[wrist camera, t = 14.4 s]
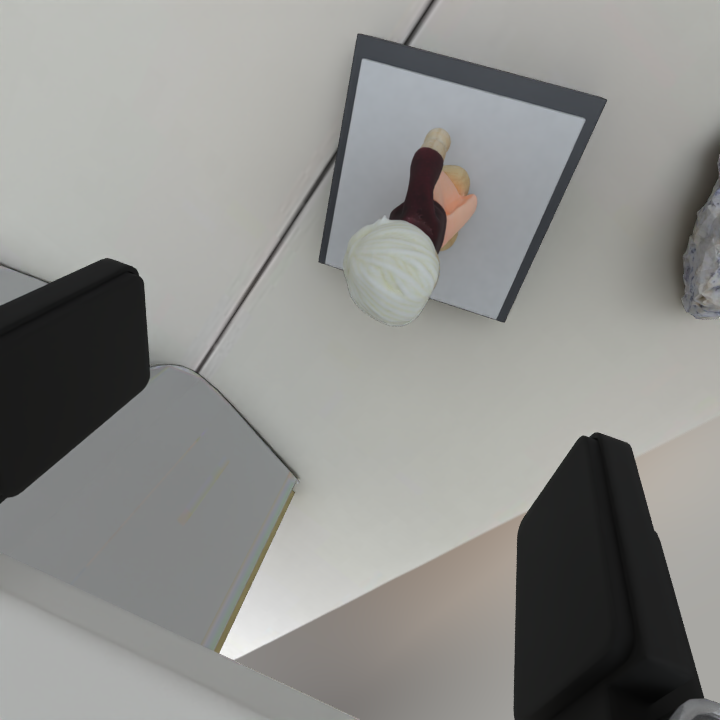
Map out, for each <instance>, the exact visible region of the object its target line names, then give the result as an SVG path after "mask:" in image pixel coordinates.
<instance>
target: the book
mask: <svg viewBox="0 0 720 720" xmlns="http://www.w3.org/2000/svg"><path fill="white" fill-rule="evenodd" d="M47 284H49V283H47V282H45V281H42V280H39V279H37V278H34V277H31V276H28V275H26V274H23V273H20V272H18V271H15V270H12V269H10V268H7V267H4V266H2V265H0V305H3V304H5V303H7V302H9V301H11V300H14V299H16V298H18V297H20V296H22V295H25V294H27V293H29V292H31V291H33V290H36V289H38V288H40V287H42V286H44V285H47ZM296 483H299V480H298V479H297V478H296V477H295V476H294V475H293V473H292V472H291V471H290V470H289V469H288V468H287V467H286V466H285V465H284V464H283V463H282V461H281V460H280V459H279V458H278V457H277V456H276V455H275V454H274V453H273V451H272V450H271V449H270V448H269V447H268V446H267V445H266V444H265V442H264V441H263V440H262V439H261V438H260V437H259V436H258V434H257V433H256V432H255V431H254V430H253V429H252V428H251V427H250V425H249V424H248V423H247V422H246V421H245V420H244V419H243V417H242V416H241V415H240V414H239V413H238V412H237V411H236V410H235V408H234V407H233V406H232V405H231V404H230V403H229V402H228V401H227V400H226V399H225V398H224V397H223V395H222V394H221V393H220V392H219V391H218V390H217V389H216V388H215V387H213V386H212V385H211V384H210V383H209V382H207V381H206V380H205V379H204V378H203V377H201V376H200V375H199V374H197V373H196V372H194V371H192V370H190V369H188V368H185V367H182V366H177V365H159V366H155V367H151V368H150V379H149V382H148V384H147V386H146V387H145V389H144V390H143V391H141V392H140V393H139V394H138V395H137V396H136V397H134V398H133V399H132V400H131V401H130V402H128V403H127V404H126V405H125V406H124V407H122V408H121V409H120V410H119V411H118V412H117V413H115V414H114V415H113V416H112V417H111V418H109V419H108V420H107V421H106V422H105V423H103V424H102V425H101V426H100V427H99V428H98V429H96V430H95V431H94V432H93V433H92V434H90V435H89V436H88V437H87V438H86V439H85V440H83V441H82V442H81V443H80V444H79V445H77V446H76V447H75V448H74V449H73V450H71V451H70V452H69V453H68V454H67V455H66V456H64V457H63V458H62V459H61V460H60V461H58V462H57V463H56V464H55V465H54V466H52V467H51V468H50V469H49V470H48V471H47V472H45V473H44V474H43V475H42V476H41V477H39V478H38V479H37V480H36V481H35V482H33V483H32V484H31V485H30V486H29V487H28V488H26V489H25V490H24V491H23V492H21V493H20V494H19V495H17V496H15V497H10V498H7V499H5V500H4V501H3V502H2V503H1V504H0V553H2V554H5V555H7V556H9V557H11V558H13V559H16V560H18V561H20V562H22V563H24V564H26V565H29V566H31V567H33V568H35V569H37V570H40V571H42V572H44V573H46V574H48V575H51V576H53V577H55V578H57V579H59V580H61V581H64V582H66V583H68V584H70V585H72V586H74V587H76V588H79V589H81V590H83V591H85V592H87V593H89V594H92V595H94V596H96V597H98V598H100V599H102V600H105V601H107V602H109V603H111V604H113V605H115V606H118V607H120V608H122V609H124V610H126V611H128V612H131V613H133V614H135V615H137V616H139V617H141V618H144V619H146V620H148V621H150V622H152V623H154V624H157V625H159V626H161V627H163V628H165V629H167V630H169V631H172V632H174V633H176V634H178V635H180V636H182V637H185V638H187V639H189V640H191V641H193V642H195V643H197V644H200V645H202V646H204V647H206V648H208V649H210V650H213V651H215V652H217V653H219V652H220V650H221V648H222V646H223V644H224V642H225V640H226V638H227V635H228V633H229V631H230V629H231V627H232V625H233V623H234V621H235V618H236V616H237V614H238V612H239V610H240V608H241V606H242V604H243V601H244V599H245V597H246V595H247V593H248V591H249V589H250V587H251V584H252V582H253V580H254V578H255V576H256V574H257V572H258V570H259V568H260V565H261V563H262V561H263V559H264V557H265V555H266V553H267V551H268V548H269V546H270V544H271V542H272V540H273V538H274V536H275V534H276V531H277V529H278V527H279V525H280V523H281V521H282V519H283V517H284V514H285V512H286V510H287V508H288V506H289V504H290V502H291V500H292V498H293V495H294V493H295V492H293V491H292V489H293V486H294V484H296Z"/></svg>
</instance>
